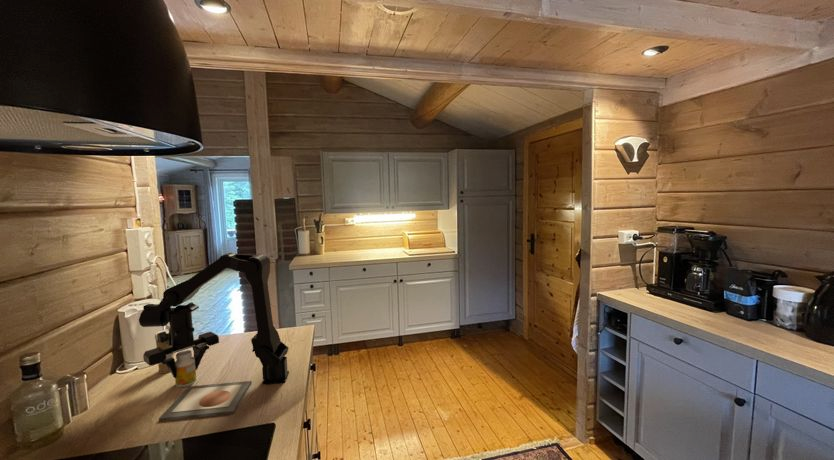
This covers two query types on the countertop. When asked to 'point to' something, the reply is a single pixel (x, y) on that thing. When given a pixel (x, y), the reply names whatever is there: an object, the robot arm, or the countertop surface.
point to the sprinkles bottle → (163, 367)
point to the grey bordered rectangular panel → (207, 401)
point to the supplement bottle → (185, 369)
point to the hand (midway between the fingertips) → (185, 373)
